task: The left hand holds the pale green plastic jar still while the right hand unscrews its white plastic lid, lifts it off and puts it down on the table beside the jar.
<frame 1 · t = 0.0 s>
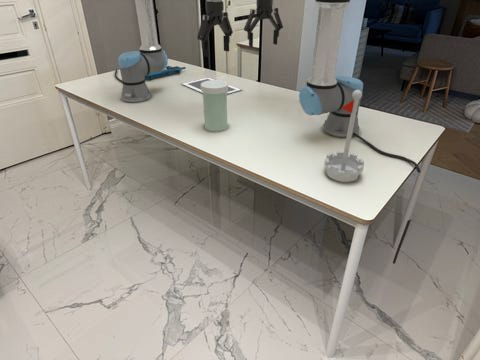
left hand: (216, 53, 153), 28 cm above the table, tool pointing down, fingers open, 13 cm apart
right hand: (263, 45, 167), 28 cm above the table, tool pointing down, fingers open, 13 cm apart
lid: (214, 84, 143), point 19 cm above the table, screwed on, not yet turned
tablet: (211, 87, 201), on the table
jar: (216, 126, 154), on the table
flag stand: (341, 173, 120), on the table
submachine gun: (158, 73, 225), on the table
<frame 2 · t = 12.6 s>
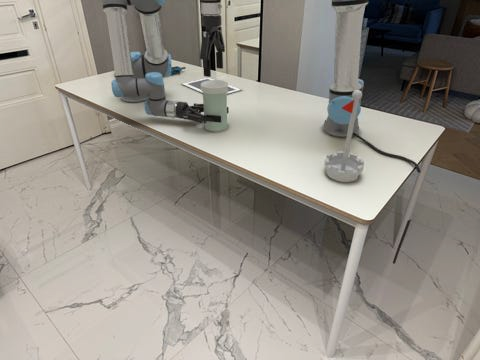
left hand: (224, 114, 149), 6 cm above the table, tool horizontal, fingers closed on jar, 10 cm apart
right hand: (213, 72, 140), 25 cm above the table, tool pointing down, fingers open, 12 cm apart
jar: (216, 126, 154), on the table, touching left hand
everything else where it was.
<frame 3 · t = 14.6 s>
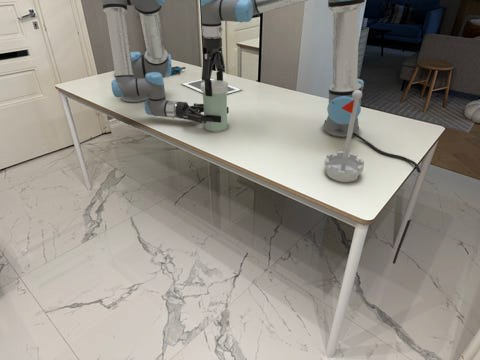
left hand: (224, 114, 149), 6 cm above the table, tool horizontal, fingers closed on jar, 10 cm apart
right hand: (214, 91, 145), 16 cm above the table, tool pointing down, fingers closed on lid, 11 cm apart
lid: (214, 84, 143), point 19 cm above the table, screwed on, not yet turned, touching right hand
jar: (216, 126, 154), on the table, touching left hand
everything else where it was.
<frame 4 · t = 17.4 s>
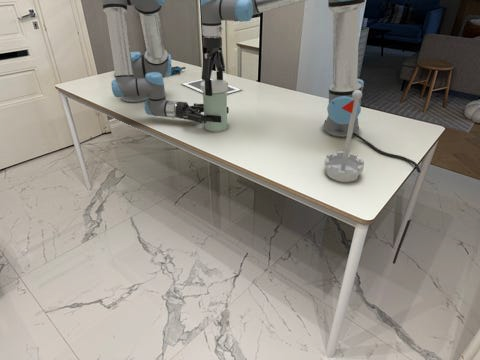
left hand: (224, 114, 149), 6 cm above the table, tool horizontal, fingers closed on jar, 10 cm apart
right hand: (214, 90, 145), 17 cm above the table, tool pointing down, fingers closed on lid, 11 cm apart
lid: (214, 84, 143), point 19 cm above the table, turned 77° so far, risen 0.2 cm, still on its thread, touching right hand
jar: (216, 126, 154), on the table, touching left hand
everything else where it was.
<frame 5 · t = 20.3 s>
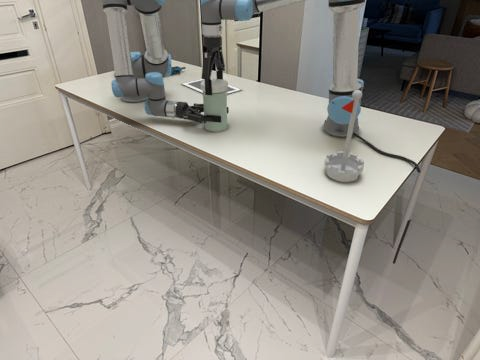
left hand: (224, 114, 149), 6 cm above the table, tool horizontal, fingers closed on jar, 10 cm apart
right hand: (214, 90, 144), 17 cm above the table, tool pointing down, fingers closed on lid, 11 cm apart
lid: (214, 83, 143), point 20 cm above the table, turned 153° so far, risen 0.5 cm, still on its thread, touching right hand
jar: (216, 126, 154), on the table, touching left hand
everything else where it was.
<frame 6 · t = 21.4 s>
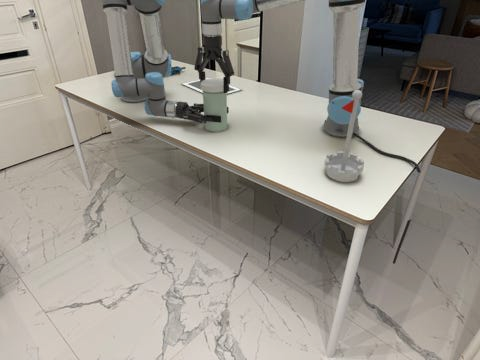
left hand: (224, 114, 149), 6 cm above the table, tool horizontal, fingers closed on jar, 10 cm apart
right hand: (214, 89, 144), 17 cm above the table, tool pointing down, fingers closed on lid, 11 cm apart
lid: (214, 83, 143), point 20 cm above the table, off its thread, touching right hand
jar: (216, 126, 154), on the table, touching left hand
everything else where it was.
when the right hand's fingers open (0 cm above the table, at t = 27.4 s): lid drops 1 cm, point 2 cm above the table.
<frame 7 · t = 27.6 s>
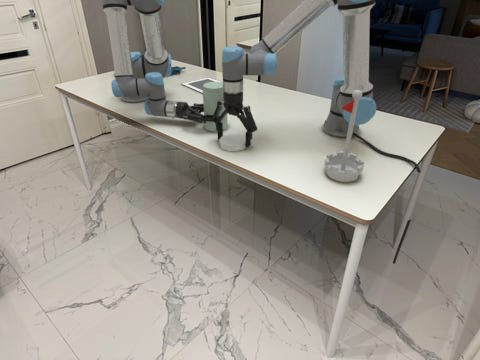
left hand: (224, 114, 149), 6 cm above the table, tool horizontal, fingers closed on jar, 10 cm apart
right hand: (233, 142, 138), 1 cm above the table, tool pointing down, fingers open, 13 cm apart
lid: (233, 140, 138), point 2 cm above the table, off its thread
jar: (216, 126, 154), on the table, touching left hand
everything else where it was.
when the left hand's fingers open (6 cm above the table, at t = 28.4 s): jar stays where it is, on the table.
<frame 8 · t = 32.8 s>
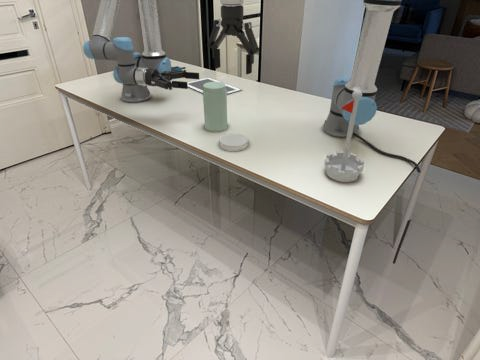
left hand: (193, 80, 145), 20 cm above the table, tool horizontal, fingers open, 13 cm apart
right hand: (232, 70, 123), 30 cm above the table, tool pointing down, fingers open, 13 cm apart
jar: (216, 126, 154), on the table
everything else where it was.
at the end: lid came off its thread; lid point 2.0 cm above the table; the left hand is holding nothing; the right hand is holding nothing; jar tilted 0°; jar moved 0.0 cm from its start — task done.
